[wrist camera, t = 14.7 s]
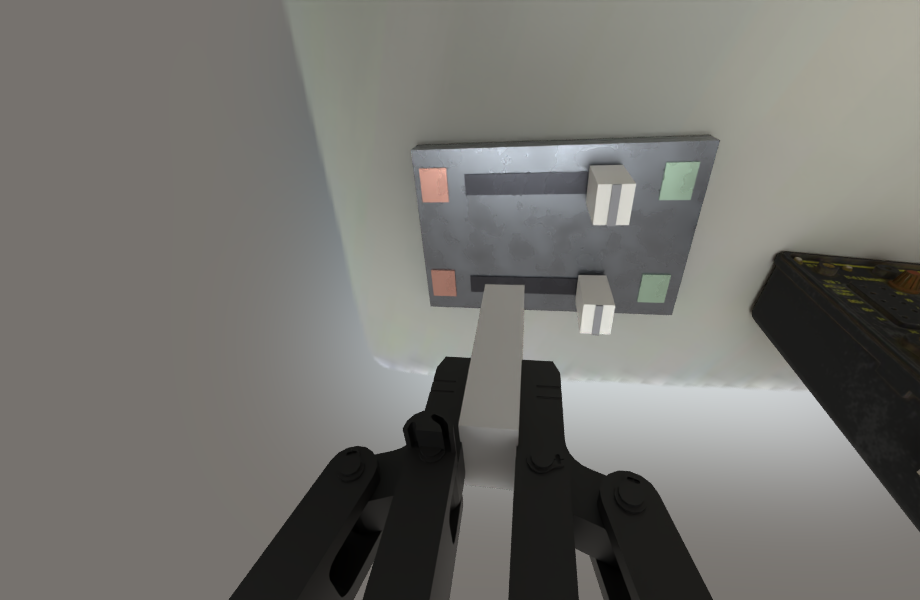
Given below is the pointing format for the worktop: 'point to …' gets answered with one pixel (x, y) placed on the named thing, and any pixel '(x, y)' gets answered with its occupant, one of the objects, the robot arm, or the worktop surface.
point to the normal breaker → (610, 195)
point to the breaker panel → (558, 219)
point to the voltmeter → (855, 354)
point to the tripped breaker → (594, 304)
